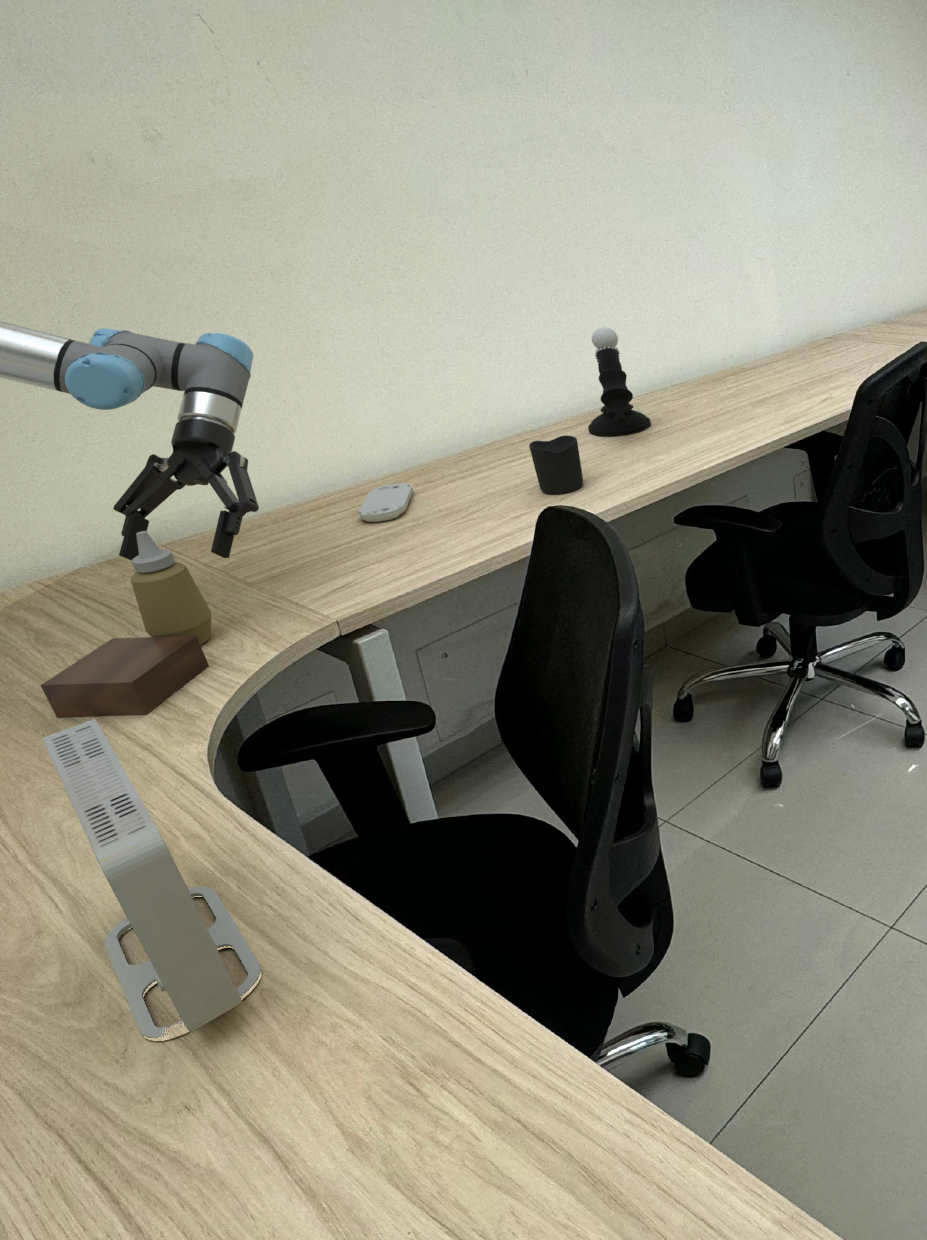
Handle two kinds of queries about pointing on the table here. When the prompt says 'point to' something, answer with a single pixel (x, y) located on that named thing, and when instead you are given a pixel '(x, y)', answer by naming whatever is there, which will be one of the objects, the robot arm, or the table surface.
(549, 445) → the pen holder
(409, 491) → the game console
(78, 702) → the riser
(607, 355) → the sculpture
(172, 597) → the squeeze bottle
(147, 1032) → the network device
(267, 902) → the table surface
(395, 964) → the table surface
